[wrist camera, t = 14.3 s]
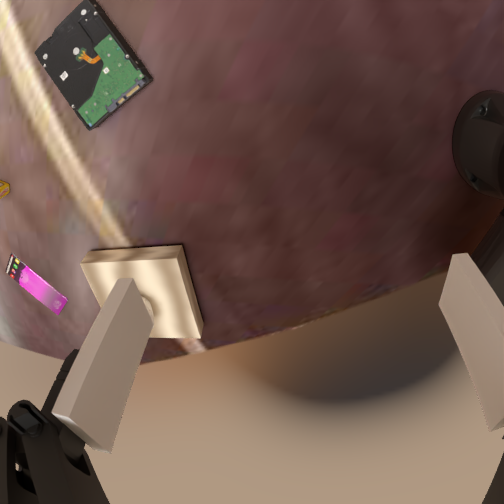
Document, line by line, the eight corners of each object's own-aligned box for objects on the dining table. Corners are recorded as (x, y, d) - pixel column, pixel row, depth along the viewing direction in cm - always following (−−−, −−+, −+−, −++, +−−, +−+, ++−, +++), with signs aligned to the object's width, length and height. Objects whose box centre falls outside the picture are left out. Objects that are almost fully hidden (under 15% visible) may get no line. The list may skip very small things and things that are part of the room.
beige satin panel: (183, 242, 45) (176, 258, 42) (204, 320, 54) (200, 338, 51) (90, 248, 47) (79, 263, 43) (122, 319, 56) (115, 335, 52)
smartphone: (13, 250, 49) (11, 252, 48) (69, 298, 54) (67, 301, 53) (7, 269, 52) (5, 272, 51) (58, 314, 57) (57, 316, 57)
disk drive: (44, 52, 30) (98, 127, 36) (32, 53, 27) (88, 133, 34) (96, -2, 26) (157, 78, 33) (85, -4, 24) (148, 80, 30)
